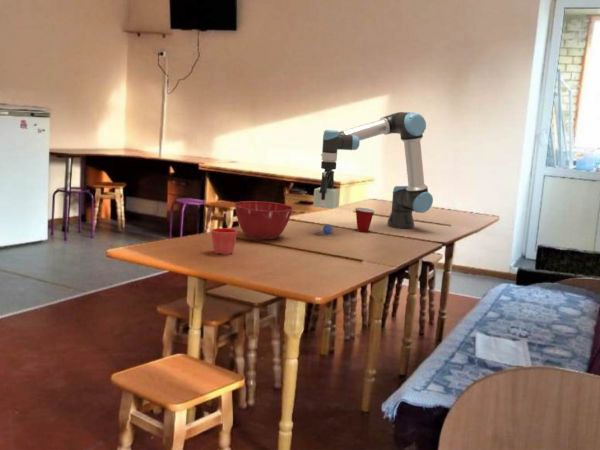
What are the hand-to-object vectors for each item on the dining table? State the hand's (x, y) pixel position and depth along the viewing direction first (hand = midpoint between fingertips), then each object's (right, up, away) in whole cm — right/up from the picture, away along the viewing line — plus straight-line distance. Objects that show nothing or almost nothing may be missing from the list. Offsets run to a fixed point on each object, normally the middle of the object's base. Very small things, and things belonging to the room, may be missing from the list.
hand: (325, 204), depth 349 cm
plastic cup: (+21, -14, +18) cm, 30 cm away
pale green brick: (0, -1, 0) cm, 1 cm away
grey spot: (-1, -15, +3) cm, 15 cm away
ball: (+1, -12, +1) cm, 12 cm away
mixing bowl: (-31, -16, -17) cm, 39 cm away
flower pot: (-46, -22, -57) cm, 76 cm away
